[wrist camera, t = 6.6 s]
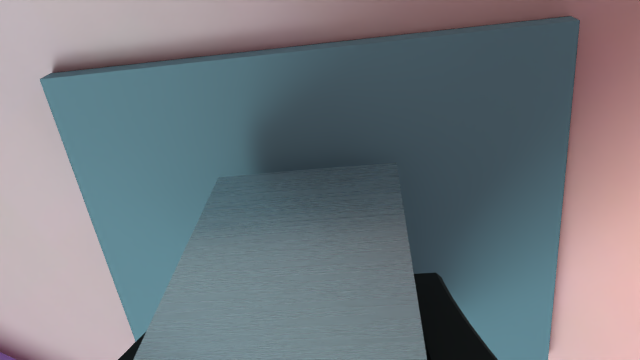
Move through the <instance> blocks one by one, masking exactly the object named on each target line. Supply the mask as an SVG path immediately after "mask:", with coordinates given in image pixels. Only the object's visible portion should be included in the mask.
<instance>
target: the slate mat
mask: <svg viewBox="0 0 640 360" xmlns="http://www.w3.org/2000/svg"><path fill="white" fill-rule="evenodd" d="M579 23H580V20H578V19H576V18H574V17H572V16H568V17H558V18H549V19H540V20H531V21H522V22H513V23H504V24H495V25H486V26H477V27H468V28H458V29H449V30H440V31H431V32H422V33H413V34H404V35H395V36H386V37H377V38H368V39H359V40H349V41H340V42H331V43H322V44H313V45H304V46H295V47H286V48H277V49H268V50H259V51H249V52H240V53H231V54H222V55H213V56H204V57H195V58H186V59H177V60H168V61H159V62H150V63H140V64H131V65H122V66H113V67H104V68H95V69H86V70H77V71H68V72H59V73H50V74H49V75H47V76H45V77H43V78H41V79H40V82H41V84H42V87H43V90H44V92H45V95H46V98H47V101H48V103H49V106H50V109H51V112H52V114H53V117H54V120H55V122H56V125H57V128H58V131H59V133H60V136H61V139H62V142H63V144H64V147H65V150H66V152H67V155H68V158H69V161H70V163H71V166H72V169H73V172H74V174H75V177H76V180H77V183H78V185H79V188H80V191H81V193H82V196H83V199H84V202H85V204H86V207H87V210H88V213H89V215H90V218H91V221H92V223H93V226H94V229H95V232H96V234H97V237H98V240H99V243H100V245H101V248H102V251H103V253H104V256H105V259H106V262H107V264H108V267H109V270H110V273H111V275H112V278H113V281H114V284H115V286H116V289H117V292H118V294H119V297H120V300H121V303H122V305H123V308H124V311H125V314H126V316H127V319H128V322H129V324H130V327H131V330H132V333H133V335H134V338H135V341H137V340H138V339H139V338H140V337H141V336H142V335H143V334H144V333H145V332H146V331H147V329H148V327H149V325H150V323H151V321H152V318H153V316H154V314H155V312H156V310H157V308H158V306H159V303H160V301H161V299H162V297H163V295H164V293H165V291H166V288H167V286H168V284H169V282H170V280H171V278H172V276H173V273H174V271H175V269H176V267H177V265H178V263H179V261H180V258H181V256H182V254H183V252H184V250H185V248H186V245H187V243H188V241H189V239H190V237H191V235H192V233H193V230H194V228H195V226H196V224H197V222H198V220H199V218H200V215H201V213H202V211H203V209H204V207H205V205H206V203H207V200H208V198H209V196H210V194H211V192H212V190H213V188H214V185H215V183H216V181H217V179H218V177H228V176H240V175H252V174H264V173H275V172H287V171H299V170H311V169H323V168H335V167H347V166H358V165H370V164H382V163H394V162H396V163H397V170H398V176H399V183H400V189H401V196H402V202H403V208H404V215H405V221H406V228H407V234H408V241H409V247H410V253H411V260H412V266H413V273H414V274H420V273H437V274H438V275H440V276H441V277H442V279H443V281H444V283H445V285H446V287H447V289H448V290H449V292H450V294H451V295H452V297H453V299H454V300H455V302H456V303H457V305H458V306H459V308H460V309H461V311H462V312H463V314H464V315H465V317H466V318H467V320H468V321H469V323H470V324H471V325H472V327H473V328H474V329H475V331H476V332H477V333H478V335H479V336H480V337H481V339H482V340H483V341H484V343H485V344H486V345H487V347H488V348H489V349H490V350H491V352H492V353H493V354H494V355H495V356H496V358H497V359H498V360H548V353H549V342H550V332H551V321H552V311H553V300H554V289H555V279H556V268H557V257H558V247H559V236H560V225H561V215H562V204H563V193H564V183H565V172H566V162H567V151H568V140H569V130H570V119H571V108H572V98H573V87H574V76H575V66H576V55H577V44H578V34H579Z"/></svg>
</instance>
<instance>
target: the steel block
mask: <svg viewBox="0 0 640 360" xmlns="http://www.w3.org/2000/svg"><path fill="white" fill-rule="evenodd" d="M133 360H427V356H426V350H425V343H424V337H423V330H422V324H421V318H420V311H419V305H418V298H417V292H416V285H415V279H414V273H413V266H412V260H411V253H410V247H409V241H408V234H407V228H406V221H405V215H404V208H403V202H402V196H401V189H400V183H399V176H398V170H397V163H396V162H394V163H382V164H370V165H358V166H347V167H335V168H323V169H311V170H299V171H287V172H275V173H264V174H252V175H240V176H228V177H218V179H217V181H216V183H215V185H214V188H213V190H212V192H211V194H210V196H209V198H208V200H207V203H206V205H205V207H204V209H203V211H202V213H201V215H200V218H199V220H198V222H197V224H196V226H195V228H194V230H193V233H192V235H191V237H190V239H189V241H188V243H187V245H186V248H185V250H184V252H183V254H182V256H181V258H180V261H179V263H178V265H177V267H176V269H175V271H174V273H173V276H172V278H171V280H170V282H169V284H168V286H167V288H166V291H165V293H164V295H163V297H162V299H161V301H160V303H159V306H158V308H157V310H156V312H155V314H154V316H153V318H152V321H151V323H150V325H149V327H148V329H147V331H146V333H145V336H144V338H143V340H142V342H141V344H140V346H139V348H138V351H137V353H136V355H135V357H134V359H133Z"/></svg>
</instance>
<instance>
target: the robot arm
mask: <svg viewBox="0 0 640 360" xmlns="http://www.w3.org/2000/svg"><path fill="white" fill-rule="evenodd" d="M414 279H415V285H416V292H417V298H418V305H419V311H420V318H421V324H422V330H423V337H424V343H425V350H426V356H427V360H498V359H497V358H496V356H495V355H494V354H493V353H492V352H491V350H490V349H489V348H488V347H487V345H486V344H485V343H484V341H483V340H482V339H481V337H480V336H479V335H478V333H477V332H476V331H475V329H474V328H473V327H472V325H471V324H470V323H469V321H468V320H467V318H466V317H465V315H464V314H463V312H462V311H461V309H460V308H459V306H458V305H457V303H456V302H455V300H454V299H453V297H452V295H451V294H450V292H449V290H448V289H447V287H446V285H445V283H444V281H443V279H442V277H441V276H440V275H438V274H437V273H420V274H414ZM145 333H146V332H145ZM145 333H144V334H143V335H142V336H141V337H140V338H139V339H138V340H137V341H136V342H135V343H134V344H133V345H132V346H131V347H130V348H129V349H128V350H127V351H126V352H125V353H124V354H123V355H122V356H121V357H120V358H119V359H118V360H133V359H134V357H135V355H136V353H137V351H138V348H139V346H140V344H141V342H142V340H143V338H144V336H145Z"/></svg>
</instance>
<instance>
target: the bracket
mask: <svg viewBox="0 0 640 360" xmlns="http://www.w3.org/2000/svg"><path fill="white" fill-rule="evenodd" d="M0 360H16V359H14V358H12V357H10V356H8V355H6V354H3V353H1V352H0Z"/></svg>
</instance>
